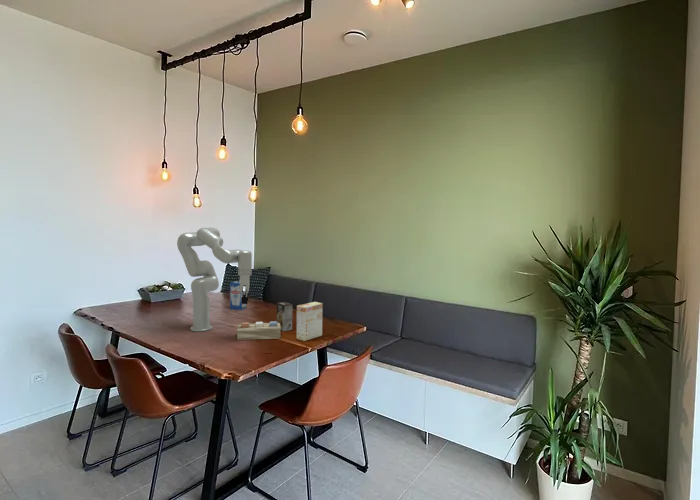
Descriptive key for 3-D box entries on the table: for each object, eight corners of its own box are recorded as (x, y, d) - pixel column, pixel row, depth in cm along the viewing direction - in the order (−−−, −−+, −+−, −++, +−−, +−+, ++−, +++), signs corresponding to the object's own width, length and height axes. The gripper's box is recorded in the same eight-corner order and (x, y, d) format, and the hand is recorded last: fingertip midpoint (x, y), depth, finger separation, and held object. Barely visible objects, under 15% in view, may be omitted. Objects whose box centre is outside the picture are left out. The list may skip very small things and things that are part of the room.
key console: (238, 334, 239) (238, 324, 238) (279, 332, 243) (279, 322, 243) (237, 340, 227) (237, 329, 226) (280, 338, 232) (280, 328, 231)
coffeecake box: (314, 333, 243) (314, 301, 242) (322, 335, 239) (323, 303, 237) (295, 338, 232) (296, 305, 230) (304, 341, 227) (304, 307, 226)
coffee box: (276, 328, 253) (276, 302, 252) (285, 326, 257) (285, 301, 256) (283, 331, 246) (283, 305, 245) (292, 329, 250) (292, 304, 249)
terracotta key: (241, 329, 235) (241, 322, 234) (248, 328, 236) (248, 322, 235) (241, 331, 231) (241, 324, 231) (248, 330, 232) (248, 323, 231)
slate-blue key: (269, 328, 238) (269, 321, 238) (276, 327, 239) (276, 321, 238) (269, 330, 234) (269, 323, 234) (276, 329, 235) (276, 323, 235)
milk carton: (229, 309, 302) (229, 282, 301) (234, 307, 308) (234, 281, 307) (241, 310, 300) (241, 283, 298) (246, 308, 306) (246, 282, 304)
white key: (255, 328, 236) (255, 321, 236) (262, 328, 237) (262, 321, 237) (255, 330, 233) (255, 323, 232) (262, 330, 233) (262, 323, 233)
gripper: (239, 270, 238) (239, 299, 240) (236, 274, 221) (237, 305, 223) (252, 270, 240) (252, 299, 241) (251, 274, 223) (251, 305, 224)
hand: (245, 302), depth 232 cm, fingers open, 8 cm apart
